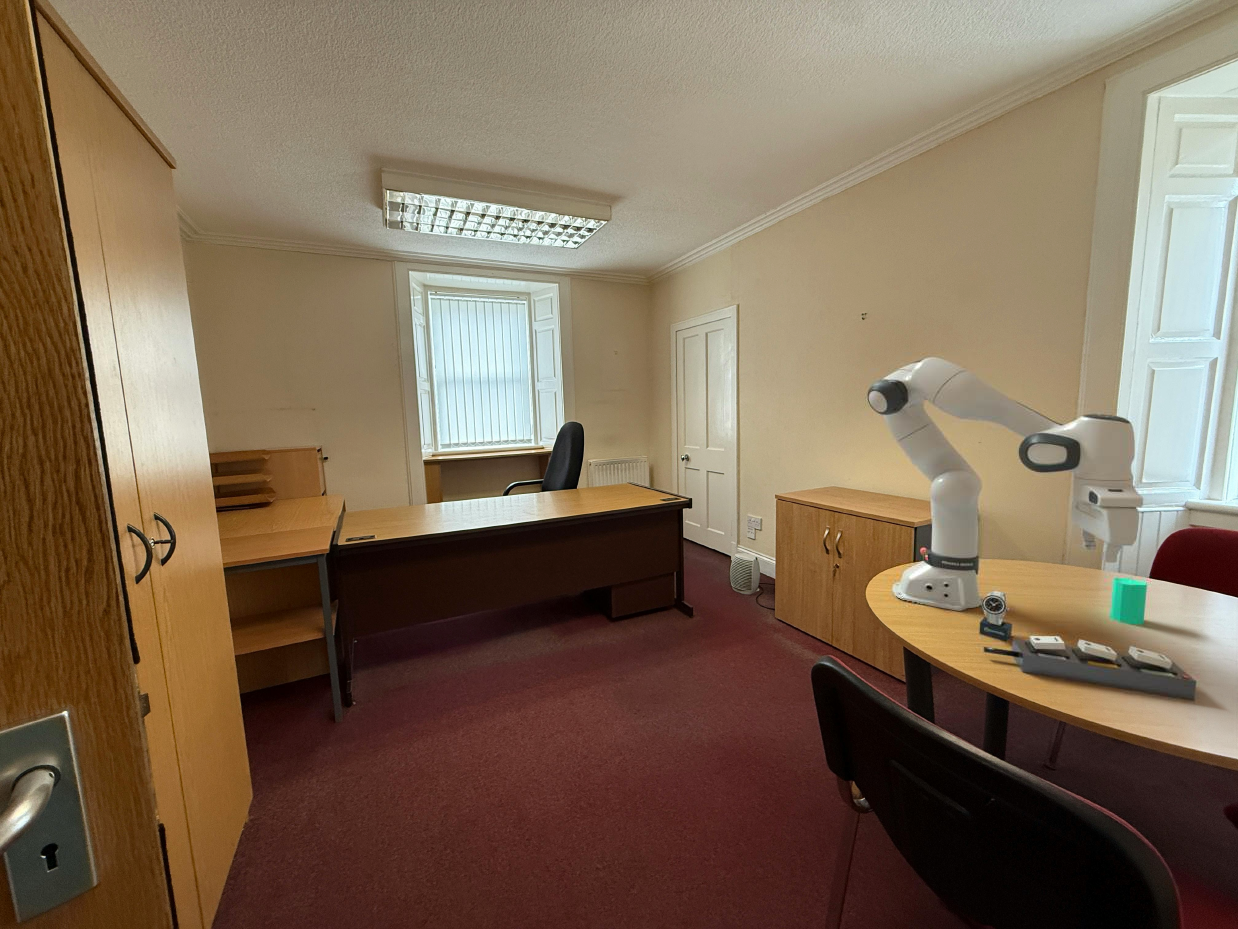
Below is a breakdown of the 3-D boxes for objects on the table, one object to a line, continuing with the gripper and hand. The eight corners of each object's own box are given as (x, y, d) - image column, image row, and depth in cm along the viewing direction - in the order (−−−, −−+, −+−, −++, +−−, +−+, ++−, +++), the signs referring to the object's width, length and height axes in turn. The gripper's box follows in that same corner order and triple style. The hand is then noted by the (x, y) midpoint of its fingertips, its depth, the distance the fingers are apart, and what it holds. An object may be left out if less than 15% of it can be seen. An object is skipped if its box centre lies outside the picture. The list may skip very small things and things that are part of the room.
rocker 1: (1035, 648, 104) (1034, 642, 103) (1030, 642, 106) (1029, 635, 106) (1065, 649, 101) (1064, 642, 101) (1059, 642, 104) (1058, 636, 104)
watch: (977, 636, 119) (979, 594, 118) (986, 626, 124) (988, 585, 123) (1005, 644, 115) (1007, 600, 114) (1013, 633, 120) (1016, 591, 119)
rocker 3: (1136, 659, 96) (1138, 653, 96) (1128, 652, 99) (1130, 645, 99) (1169, 668, 94) (1172, 662, 94) (1160, 660, 97) (1163, 654, 97)
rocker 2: (1083, 652, 100) (1085, 645, 100) (1077, 645, 103) (1079, 638, 102) (1115, 660, 98) (1117, 654, 98) (1107, 653, 101) (1110, 647, 100)
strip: (987, 666, 106) (988, 648, 105) (979, 649, 113) (980, 632, 112) (1194, 700, 91) (1196, 679, 91) (1170, 679, 98) (1172, 659, 98)
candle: (1150, 625, 121) (1154, 580, 120) (1122, 624, 122) (1126, 579, 121) (1130, 615, 127) (1134, 571, 125) (1104, 614, 128) (1107, 571, 127)
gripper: (1063, 483, 111) (1061, 541, 112) (1103, 499, 93) (1100, 568, 94) (1099, 484, 108) (1096, 543, 110) (1148, 500, 90) (1144, 571, 91)
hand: (1098, 555), depth 102 cm, fingers open, 8 cm apart
